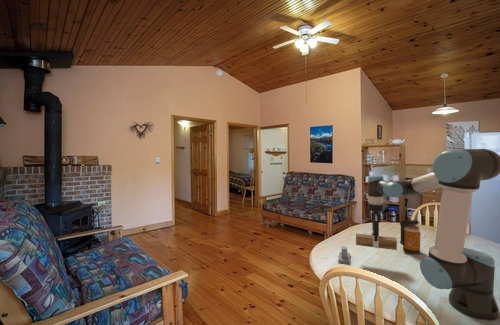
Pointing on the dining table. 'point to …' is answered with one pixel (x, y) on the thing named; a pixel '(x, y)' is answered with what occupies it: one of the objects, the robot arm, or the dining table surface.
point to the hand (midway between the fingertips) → (375, 244)
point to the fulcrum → (344, 256)
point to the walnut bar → (383, 241)
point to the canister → (410, 236)
